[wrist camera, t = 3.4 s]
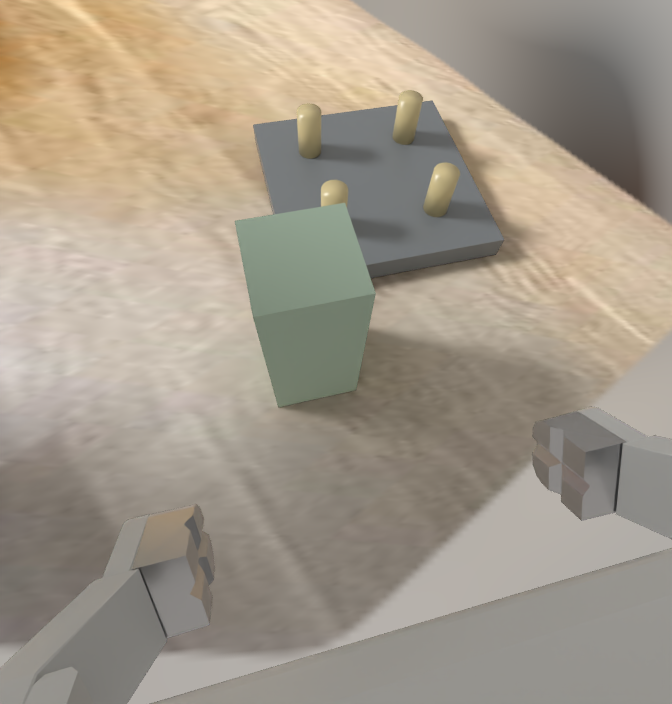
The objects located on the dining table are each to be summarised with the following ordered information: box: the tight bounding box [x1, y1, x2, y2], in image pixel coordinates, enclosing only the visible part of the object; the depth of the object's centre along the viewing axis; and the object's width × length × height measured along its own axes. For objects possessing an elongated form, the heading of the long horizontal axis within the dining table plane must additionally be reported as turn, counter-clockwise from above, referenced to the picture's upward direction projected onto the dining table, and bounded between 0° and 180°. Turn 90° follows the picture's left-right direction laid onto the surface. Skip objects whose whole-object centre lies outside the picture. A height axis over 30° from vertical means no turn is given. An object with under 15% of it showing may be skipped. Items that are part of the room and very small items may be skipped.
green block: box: [235, 203, 376, 407], centre depth 21 cm, size 4×4×10 cm
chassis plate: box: [253, 90, 504, 278], centre depth 29 cm, size 14×14×4 cm
